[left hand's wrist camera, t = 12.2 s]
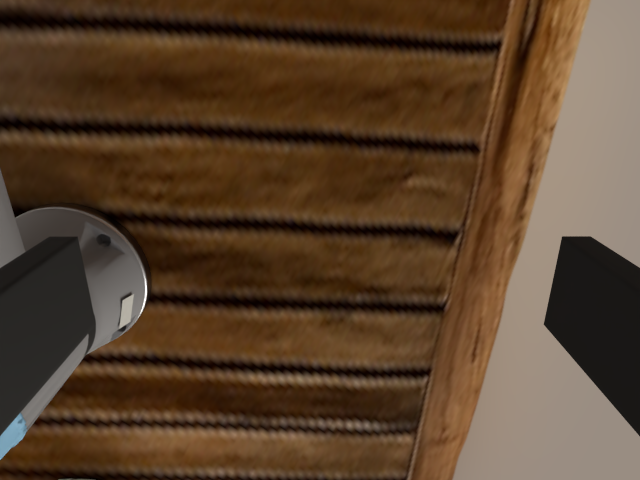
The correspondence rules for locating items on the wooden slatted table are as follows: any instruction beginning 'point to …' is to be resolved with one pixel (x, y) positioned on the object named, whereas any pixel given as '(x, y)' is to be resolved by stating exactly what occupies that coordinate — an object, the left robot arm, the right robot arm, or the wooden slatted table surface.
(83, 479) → the fossil
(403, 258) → the wooden slatted table surface
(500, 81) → the wooden slatted table surface
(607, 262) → the left robot arm
